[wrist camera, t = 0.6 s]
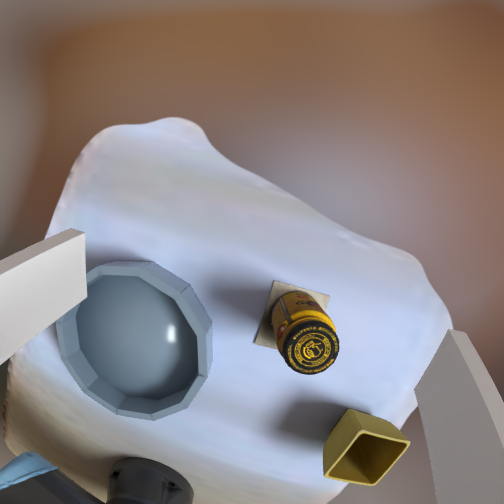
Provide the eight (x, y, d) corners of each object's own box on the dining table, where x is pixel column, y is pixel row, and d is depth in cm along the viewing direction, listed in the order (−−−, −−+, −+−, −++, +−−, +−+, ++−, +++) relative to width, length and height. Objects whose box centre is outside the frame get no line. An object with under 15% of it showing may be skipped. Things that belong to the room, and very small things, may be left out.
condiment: (330, 295, 39) (359, 325, 27) (308, 356, 40) (327, 404, 28) (274, 280, 39) (282, 305, 27) (254, 343, 40) (254, 389, 28)
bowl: (214, 406, 40) (209, 426, 35) (86, 389, 40) (71, 404, 36) (211, 263, 39) (205, 269, 34) (70, 259, 39) (49, 263, 34)
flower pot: (312, 438, 41) (322, 478, 32) (342, 394, 40) (360, 430, 31) (358, 450, 41) (374, 486, 32) (389, 408, 40) (412, 442, 31)
